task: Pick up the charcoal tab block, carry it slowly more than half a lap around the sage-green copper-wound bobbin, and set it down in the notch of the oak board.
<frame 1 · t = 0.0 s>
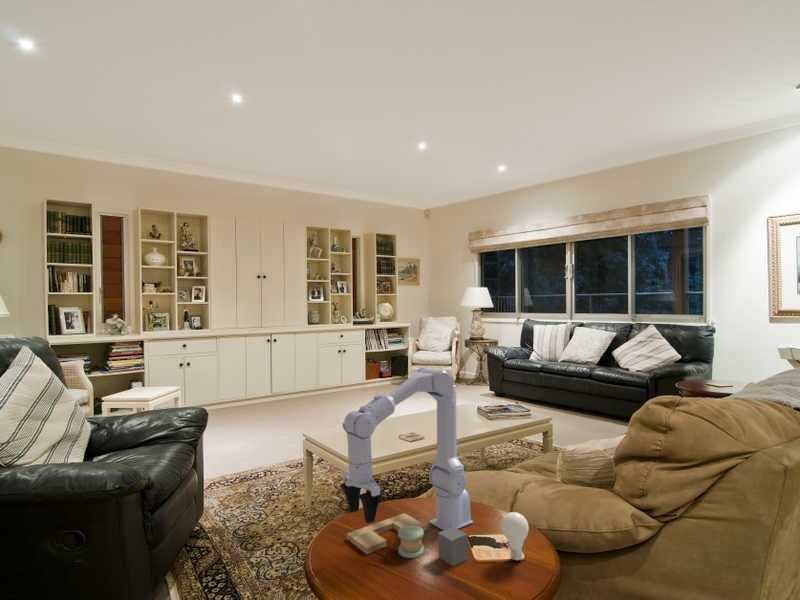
hand: (362, 516, 114), 10 cm above the table, tool pointing down, fingers open, 7 cm apart
lightbulb: (516, 560, 111), on the table
bobbin: (411, 551, 116), on the table
tab block: (453, 558, 113), on the table
notched board: (387, 534, 125), on the table
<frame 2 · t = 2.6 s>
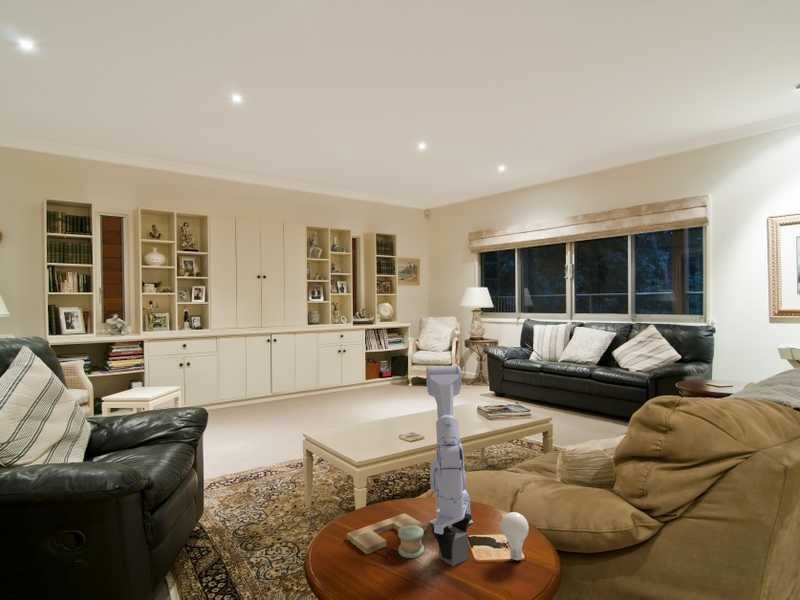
hand: (453, 551, 113), 2 cm above the table, tool pointing down, fingers closed on tab block, 6 cm apart
tab block: (453, 558, 113), on the table, touching gripper
everything else where it was.
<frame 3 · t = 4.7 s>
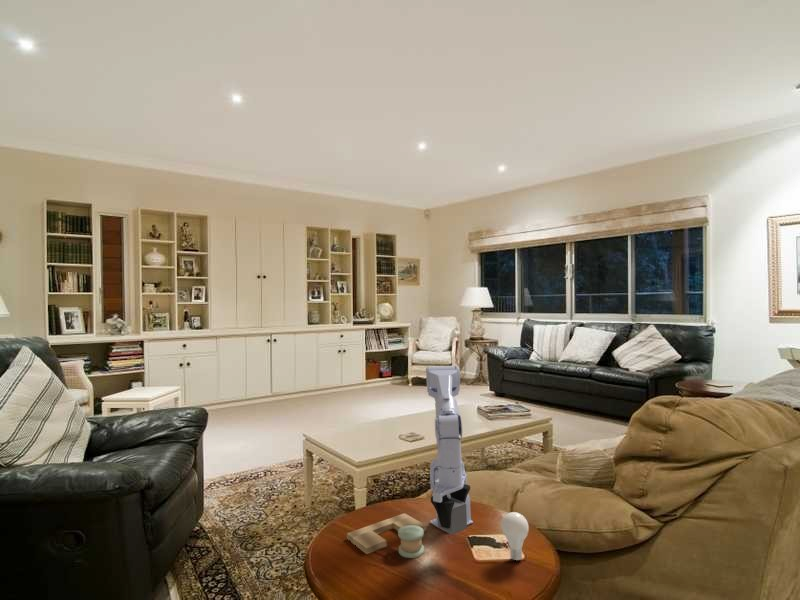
hand: (452, 521, 113), 9 cm above the table, tool pointing down, fingers closed on tab block, 6 cm apart
tab block: (452, 528, 113), point 7 cm above the table, touching gripper
everything else where it was.
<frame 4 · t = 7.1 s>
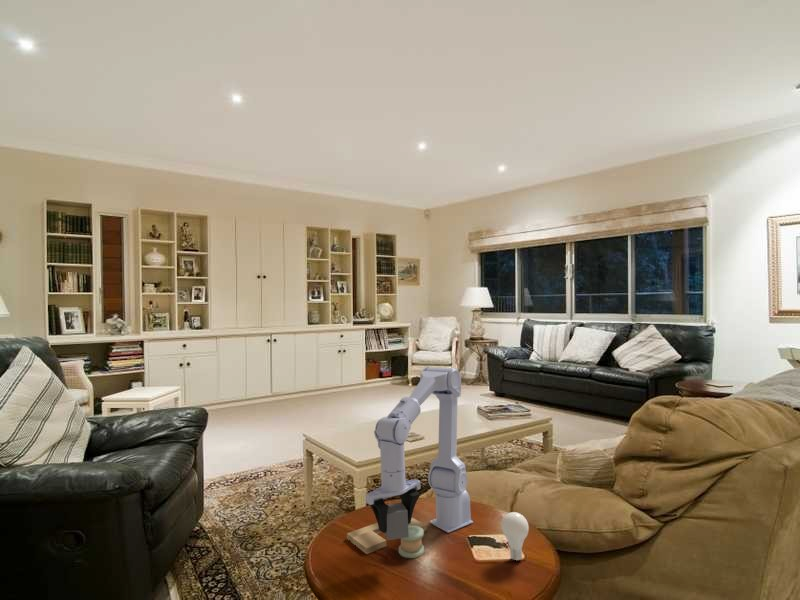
hand: (395, 526, 110), 9 cm above the table, tool pointing down, fingers closed on tab block, 6 cm apart
tab block: (395, 533, 110), point 8 cm above the table, touching gripper
everything else where it was.
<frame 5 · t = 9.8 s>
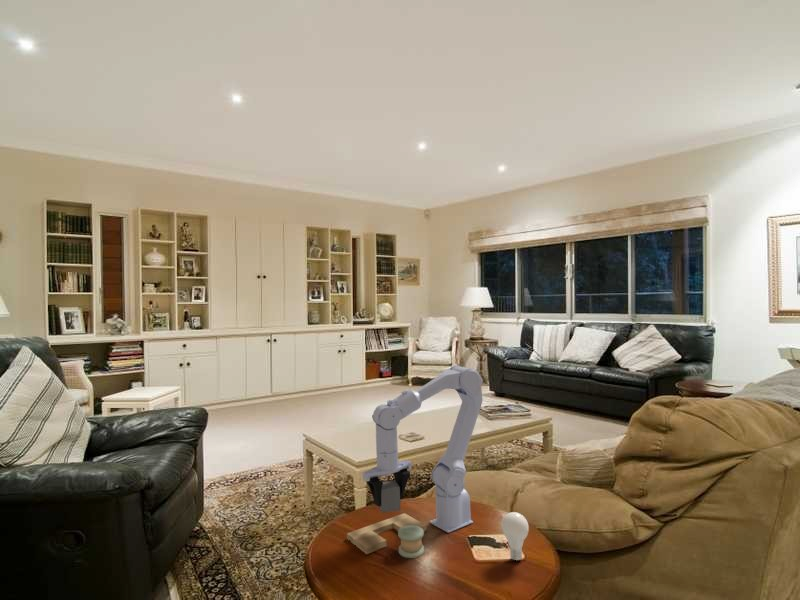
hand: (388, 501, 124), 9 cm above the table, tool pointing down, fingers closed on tab block, 6 cm apart
tab block: (389, 507, 124), point 8 cm above the table, touching gripper
everything else where it was.
when the fingers open (3 cm above the table, at t = 12.0 s): tab block drops 2 cm, on the table.
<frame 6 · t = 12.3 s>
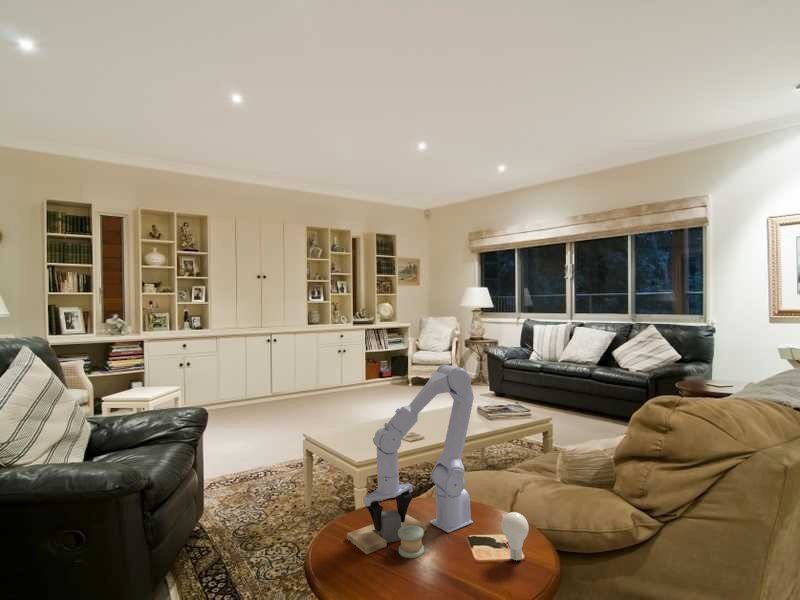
hand: (389, 525, 124), 3 cm above the table, tool pointing down, fingers open, 7 cm apart
tab block: (390, 537, 124), on the table
everything else where it was.
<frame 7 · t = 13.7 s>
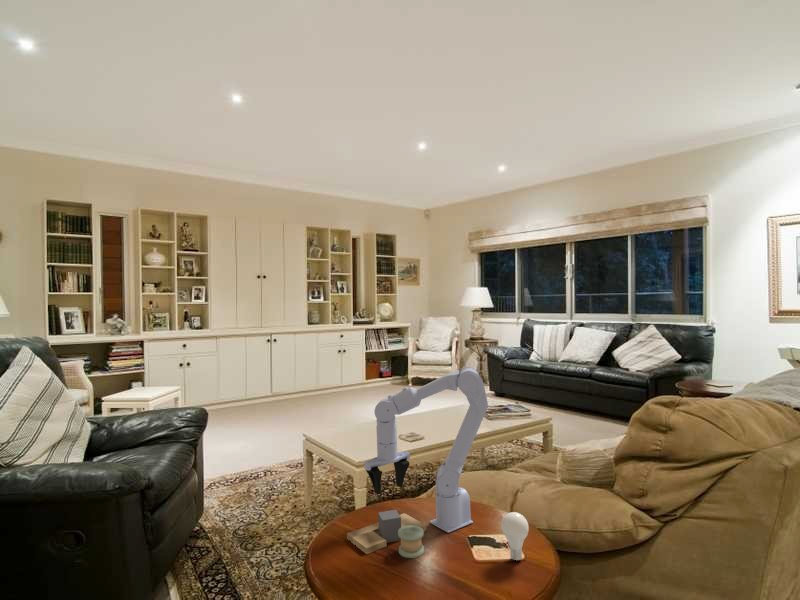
hand: (388, 489, 133), 9 cm above the table, tool pointing down, fingers open, 7 cm apart
nothing on the table moved.
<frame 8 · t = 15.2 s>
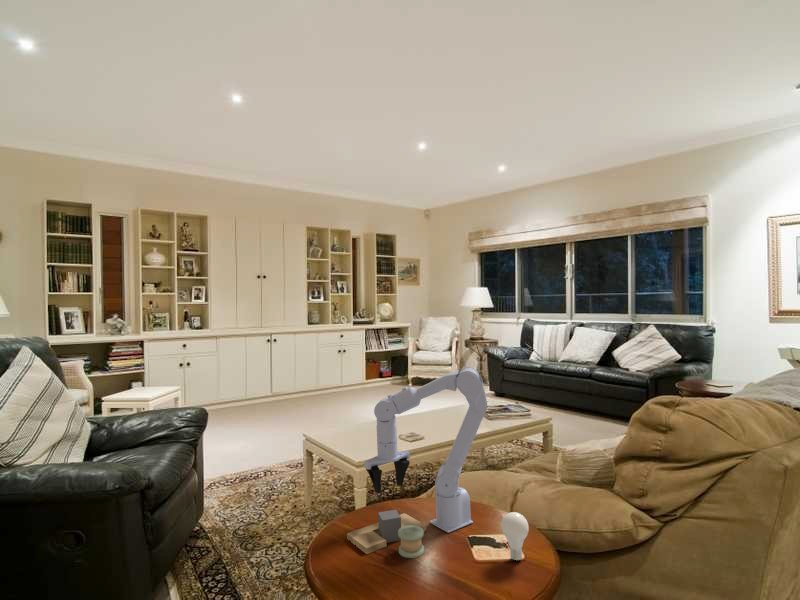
hand: (388, 488, 133), 9 cm above the table, tool pointing down, fingers open, 7 cm apart
nothing on the table moved.
at the end: tab block 0.3 cm from the target spot on the notched board, point 0.0 cm above the notched board's base; tab block tilted 0°; the gripper is holding nothing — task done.
